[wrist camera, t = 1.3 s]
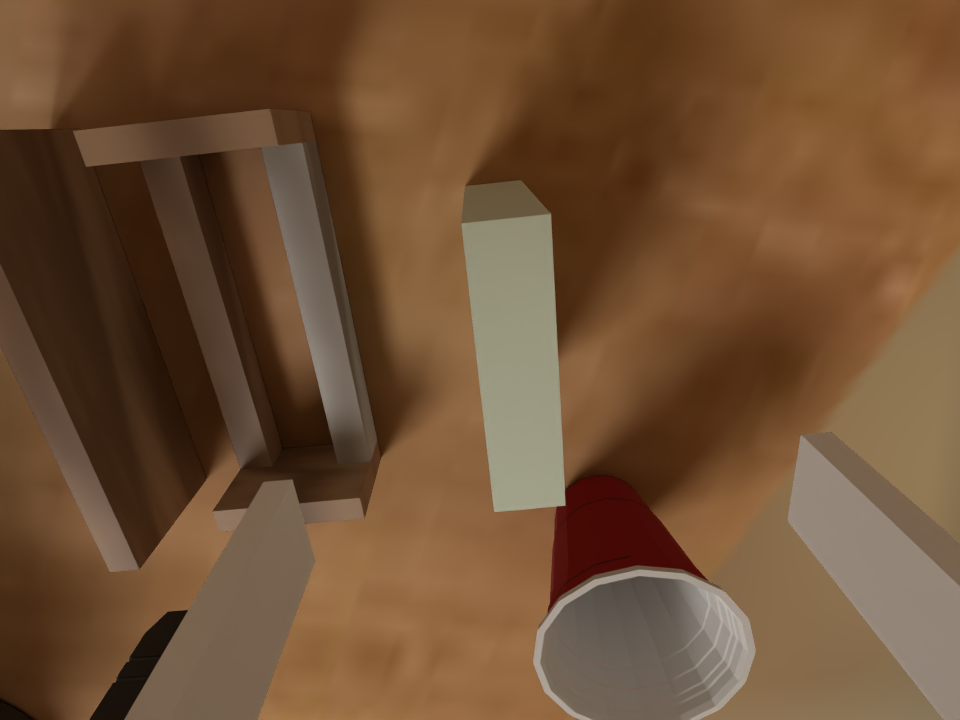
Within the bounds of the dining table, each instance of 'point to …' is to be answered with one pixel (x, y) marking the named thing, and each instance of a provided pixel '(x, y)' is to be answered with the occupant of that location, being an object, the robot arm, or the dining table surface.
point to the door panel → (515, 342)
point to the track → (130, 339)
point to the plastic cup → (634, 616)
